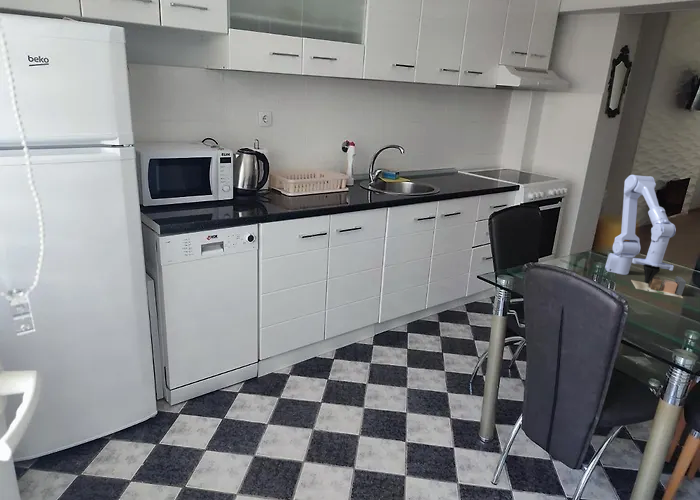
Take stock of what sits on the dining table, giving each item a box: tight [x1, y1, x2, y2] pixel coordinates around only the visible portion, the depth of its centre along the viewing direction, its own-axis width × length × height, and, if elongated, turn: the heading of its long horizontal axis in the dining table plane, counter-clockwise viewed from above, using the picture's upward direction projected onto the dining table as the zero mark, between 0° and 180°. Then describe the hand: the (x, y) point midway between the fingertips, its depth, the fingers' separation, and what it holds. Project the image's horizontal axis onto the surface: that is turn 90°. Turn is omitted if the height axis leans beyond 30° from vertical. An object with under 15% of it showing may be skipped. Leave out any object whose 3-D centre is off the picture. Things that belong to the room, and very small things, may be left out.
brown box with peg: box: [648, 275, 663, 290], centre depth 201 cm, size 3×6×4 cm, turn 161°
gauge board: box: [630, 279, 684, 299], centre depth 202 cm, size 17×11×1 cm, turn 71°
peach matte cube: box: [661, 278, 678, 294], centre depth 200 cm, size 4×4×4 cm
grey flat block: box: [674, 275, 687, 297], centre depth 199 cm, size 2×6×7 cm, turn 161°
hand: (646, 282), depth 202 cm, fingers closed
